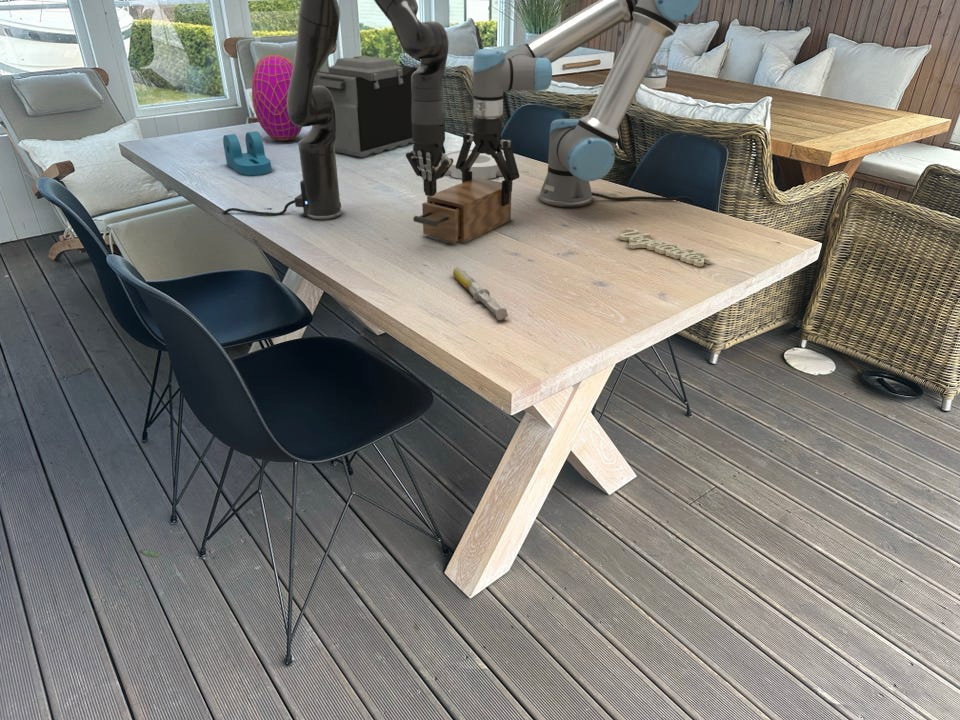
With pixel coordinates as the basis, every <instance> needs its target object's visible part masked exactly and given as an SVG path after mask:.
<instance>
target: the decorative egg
mask: <svg viewBox="0 0 960 720" xmlns="http://www.w3.org/2000/svg"><path fill="white" fill-rule="evenodd" d="M293 65H294V62H292V61H291V60H290V59H288V58H287V57H285V56H282V55H280V54H268V55H265V56H262V57H261V58H260V59H259V60H258V61H257V62H256V65H255V68H254V69H253V70H254V71H253V73H252V77H251V101H252V107H253V110H254V114H255V116H256V118H257V121H258V123H259V125H260V127H261V128H262V130H263V131H264V133H266V135H267V136H268V137H270V138H271V139H273V140H275V141H282V142H286V141H291V140H293V139H296V138H297V137H298V136H299V134H301V131H302V129H303V127H298V126H296V125H294V124H293V123H292V122H291V120H290V118H289V115H288V111H287V95H288V90H289V85H290V80H291V75H292V71H293Z"/></svg>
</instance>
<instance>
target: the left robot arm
mask: <svg viewBox="0 0 960 720" xmlns="http://www.w3.org/2000/svg"><path fill="white" fill-rule="evenodd" d="M373 1H374V3H375V4H376V5H377V6H378V8H379V9H380V11H381V12H382V13H383V14H384V16H385V17H386V19H388V21H389V22H390V24H391V26H392V29H393V32H394V33H395V35H396V38H397V40H398V42H399V44H400V46H401V47H402V49H403V50H404V52H405V53H406V54H407V55H408V56H410V58H412V59H415V60H420V63H419V66H418V70H416V71H415V72H414V73H413V74H412V77H411V93H412V105H411V119H412V140H413V141H414V143H413V145H412V150H411V151H409V152H406V153H405V158H406V159H407V161H408V163H409V164H410V166H411V168H412V169H413V172H414V173H415V176H416V177H420V178H421V179H422V181H423V193H424V195H425V196H426V197H427V196H434V195H435V193H437V191H438V190H437V189H438V188H437V186H438V185H437V181H438V180H439V179H443V178H444V177H445V176H446V175H445V174H446V172H447V171H448V169H449V168H450V166H451V165H452V164H453V159H452V158H450V159H449V158H448V157H447V155H446V154H445V153H446V148H445V140H446V125H445V124H446V117H445V114H446V113H445V112H446V111H445V105H444V80H443V79H444V74H445V70H446V66H447V59H448V54H449V46H450V45H449V44H450V43H449V37H448V36H449V35H448V33H447V30H446V29H445V26H443V24H441V23H440V22H438V21H435V20H432V21H422V22H421V21H420V20H419V18H418V17H417V15H418V11H419V4H418V2H417V0H373ZM297 21H298V22H297V33H296V42H295V44H296V45H295V52H294V60H293V71H292V75H291V80H290V85H289V90H288V95H287V111H288V115H289V118H290V120H291V122H292V123H293V124H294V125H296V126H298V127H302V128H306V127H311V129H310V130H309V131H308V133H307V134H306V135H305V136H303V137H302V138H301V139H300V140H299V141H298V152H299V159H300V167H301V175H302V180H301V181H300V183H299V186H300V194H299V195H297V196H295V197H294V200H291V201H288V202H287V203H285V204H284V208H283V210H282V211H279V212H270V211H269V212H267V211H257V210H247V209H242V208H237V207H230V208H227V209H226V210H224V211H222V215H226V214H228V213H229V212H233V211H234V212H240V213H245V214H253V215H260V216H282V215H284V214H285V213H286V212H287V210H288V208H289V206H291V205H292V204H294V205H295V207H296V208H302V209H303V216H304V217H307V218H309V219H313V220H330V219H336V218H338V217H340V216H341V215H342V209H341V208H342V202H341V197H340V189H339V178H338V166H337V158H336V152H335V142H336V120H335V106H334V101H333V97H332V95H331V93H330V91H329V90H328V89H327V88H326V87H324V86H314V82H315V79H316V76H317V74H318V72H319V71H321V69H322V67H323V65H324V64H325V63H326V61H327V60H328V59H329V57H330V56H331V54H332V52H333V50H334V48H335V46H336V44H337V41H338V36H339V29H340V22H341V9H340V4H339V1H338V0H300V4H299V11H298V19H297ZM440 161H441V162H440ZM440 164H441V165H440Z"/></svg>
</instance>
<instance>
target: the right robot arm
mask: <svg viewBox="0 0 960 720" xmlns="http://www.w3.org/2000/svg"><path fill="white" fill-rule="evenodd" d="M699 2H700V0H597V1H595V2H593V3H592V4H590V5H588V6H586V7H585V8H584V9H581V10H580V11H578V12H576V13H574V14H573V15H571V16H570V17H568V18H567V19H565V20H563V21H561V22H560V23H558V24H557V25H554V26H552V27H551V28H549V29H548V30H546V31H544V32H543V33H541V34H540V35H538V36H536V37H534V38H533V39H531V40H529V41H528V42H525V44H523V45H520V46H519V47H517V48H515V49H509V50H506V51H504V50H503V49H499V48H480V49H477V50H476V51H475V52H474V54H473V64H472V66H473V67H472V93H473V95H472V101H473V102H472V114H473V115H474V116H473V117H472V131H473V133H472V132H468V133H464V134H463V135H462V144H461V148H460V150H461V151H460V154H459V157H458V160H457V163H456V169H459V170H461V172H462V179H461V183H463V182H466V181H468V180H471V179H472V171H469V170H471V169H470V168H471V167H472V165H473V164H474V162H475V161H476V159H477V158H478V156H479V154H480V153H482V154H483V153H485V154H487V155H491V156H492V158H494V160H495V162H496V164H497V166H498V168H499V170H500V172H501V174H502V176H501V177H502V178H503V180H501V182H502V198H501V206H505V205H507V204H509V195H510V193H511V194H512V192H513V181H515V180H517V179H519V178H520V172H519V168H518V166H517V161H516V158H515V154H514V149H513V140H512V139H503V137H502V132H503V114H504V92H511V91H512V92H514V91H515V92H519V91H520V92H521V91H523V92H524V91H525V92H526V91H527V92H528V91H530V92H531V91H533V92H538V91H546V90H548V89H549V88H550V86H551V84H552V79H553V68H552V64H553V63H554V62H556V61H557V60H559V59H561V58H563V57H564V56H566V55H568V54H569V53H571V52H573V51H575V50H577V49H578V48H580V47H582V46H584V45H585V44H587V43H588V42H590V41H592V40H594V39H595V38H597V37H599V36H601V35H602V34H604V33H605V32H607V31H609V30H610V29H613V28H614V27H616V26H618V25H620V24H621V23H623V24H627V25H628V24H630V23H632V22H633V24H632V26H631V28H630V30H629V33H628V34H627V36H626V38H625V40H624V42H623V44H622V46H621V48H620V51H619V52H618V55H617V57H616V58H615V61H614V62H613V64H612V67H611V69H610V70H609V72H608V75H607V77H606V79H605V81H604V83H603V85H602V86H601V88H600V91H599V93H598V95H597V97H596V99H595V101H594V102H593V105H592V107H591V108H590V111H589V113H588V114H587V115H585V116H582V117H580V118H558V119H554V120H552V122H551V123H550V127H549V128H550V129H549V132H548V134H549V141H548V142H549V144H548V156H547V157H548V159H547V173H546V176H545V178H544V181H543V184H542V187H541V189H540V192H539V200H540V202H542V203H543V204H546V205H549V206H553V207H558V208H559V207H560V208H580V207H584V206H588V205H589V204H591V203H592V199H593V197H598V198H601V199H606V200H609V201H636V200H649V201H668V202H670V201H671V202H672V201H678V200H687V201H689V202H690V203H693V204H694V203H695V200H694V199H693V198H692V197H690V196H687V195H680V196H674V197H667V196H664V197H663V196H644V195H643V196H641V195H639V196H621V197H617V196H609V195H605V194H601V193H596V192H592V188H591V184H590V182H595V181H598V180H601V179H602V178H604V177H605V176H606V175H608V174H609V172H610V171H611V170H612V168H613V166H614V163H615V158H616V155H615V147H616V146H617V143H618V142H619V140H620V136H619V131H618V130H619V127H620V126H621V123H622V122H623V119H624V117H625V116H626V114H627V112H628V110H629V108H630V106H631V104H632V102H633V100H634V98H635V97H636V95H637V92H638V91H639V89H640V86H641V85H642V83H643V81H644V79H645V77H646V76H647V74H648V72H649V69H650V68H651V66H652V64H653V62H654V60H655V58H656V56H657V54H658V53H659V50H660V49H661V46H662V45H663V43H664V41H665V39H666V38H668V37H672V36H674V34H675V33H676V31H677V29H678V27H679V25H680V24H681V21H684V20H686V19H687V18H689V17H690V16H692V14H693V13H694V12H695V11H696V9H697V7H698V5H699ZM473 143H474V147H473V148H472V149H473V150H472V153H471V154H470V156H469V157H468V159H467V156H468V153H469V150H470V149H471V147H472V144H473ZM496 152H497V153H496ZM503 154H504V156H505V159H504V157H503ZM466 159H467V160H466ZM505 160H506V161H505Z"/></svg>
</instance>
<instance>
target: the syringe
mask: <svg viewBox="0 0 960 720" xmlns="http://www.w3.org/2000/svg"><path fill="white" fill-rule="evenodd" d="M452 274H453V277H454V279H455V280H457V281H458V282H459V283H460V285H462V287H464V289H466V290H467V291H468V293H470V295H471V296H472V298H473V300H474V302H477V303H478V302H480V303H482V304H483V305H484V306H485V307H486V308H487V309H488V310H489V311H490V312H491V313H492V314H493V315H494V316H495V317H496V320H497V321H503V320H504V319H506V318H507V317H509V314H508V310H507V308H506V307H502V306H501V305H500V303H498V302H497V301H496V300H494V299H493V298H492V297H491V296H490V295H491V293H490V290H488V289H486V288H483V287H482V286H481V285H480V284H479V283H478V282H477V281H476V280H474V278H473V277H471V275H469V274H468V273H467V272H466V270H465V269H464V268H463V267H462V266H456V267H454V268H453V271H452Z"/></svg>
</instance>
